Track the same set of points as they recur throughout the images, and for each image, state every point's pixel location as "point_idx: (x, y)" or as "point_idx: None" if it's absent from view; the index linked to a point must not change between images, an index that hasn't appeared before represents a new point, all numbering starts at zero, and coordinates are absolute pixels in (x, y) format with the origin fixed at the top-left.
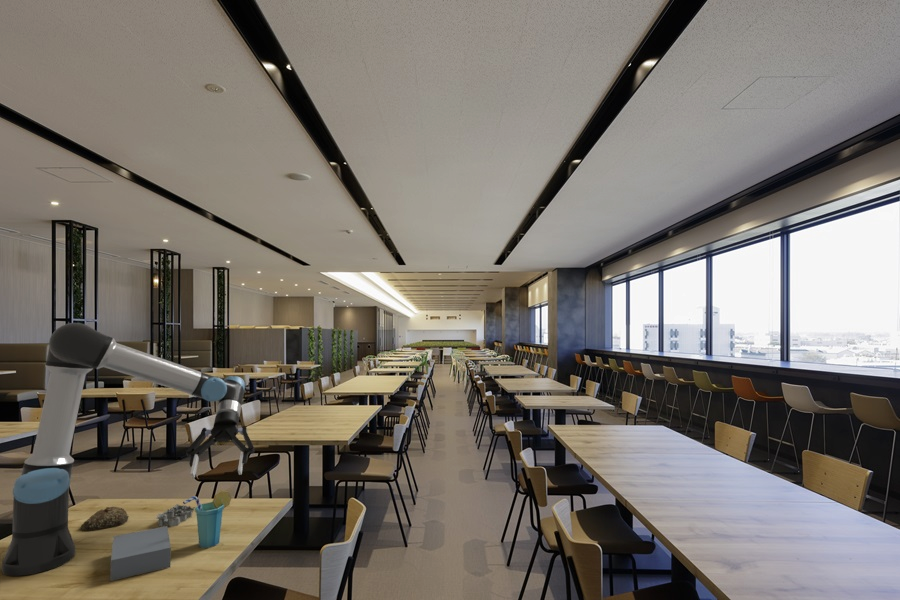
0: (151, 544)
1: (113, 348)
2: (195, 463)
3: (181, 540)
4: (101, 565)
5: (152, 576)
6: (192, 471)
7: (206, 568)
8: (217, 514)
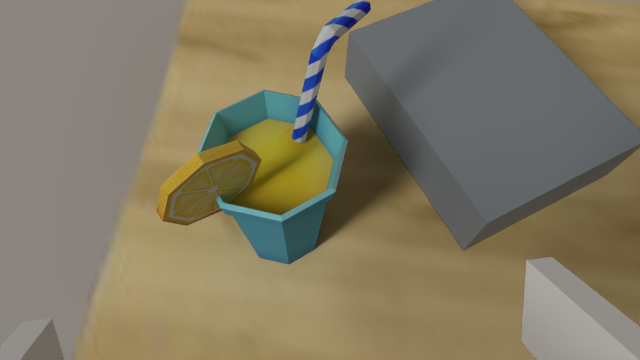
0: (434, 59)
1: None
2: (612, 347)
3: (418, 276)
4: None
5: None
6: (547, 269)
7: (230, 60)
8: (223, 137)
